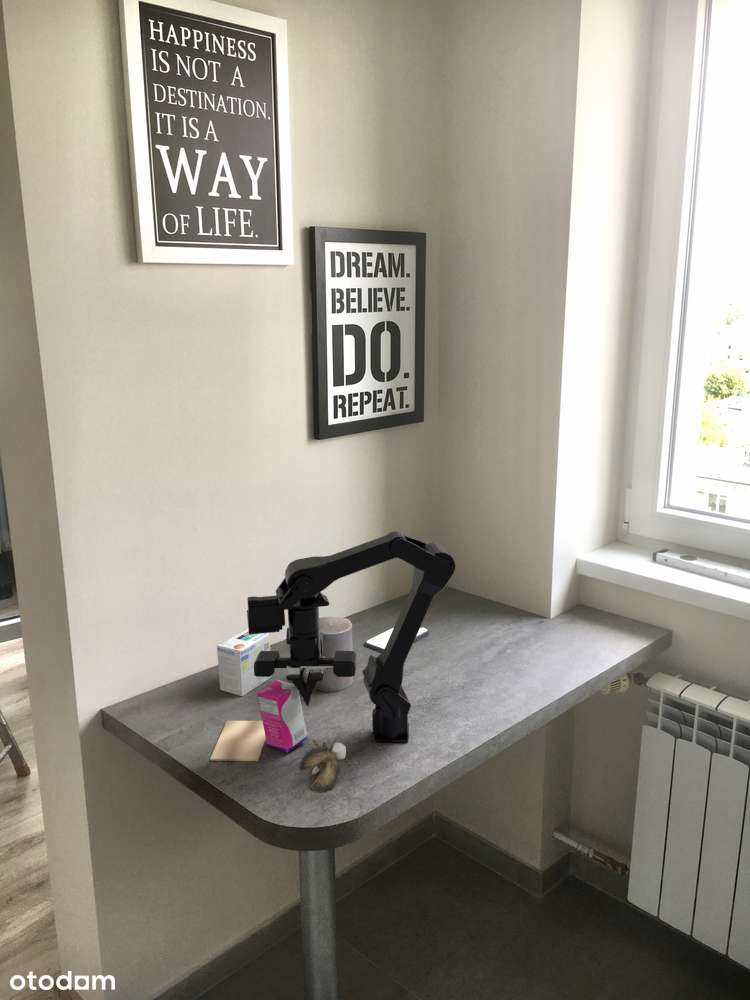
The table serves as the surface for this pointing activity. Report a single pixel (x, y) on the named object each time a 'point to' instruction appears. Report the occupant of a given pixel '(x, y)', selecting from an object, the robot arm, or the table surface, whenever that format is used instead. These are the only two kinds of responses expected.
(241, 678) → the light bulb box
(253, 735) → the pale gold metal plate
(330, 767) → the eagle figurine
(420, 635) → the phone case
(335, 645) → the pillar candle
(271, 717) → the supplement box
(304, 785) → the table surface
